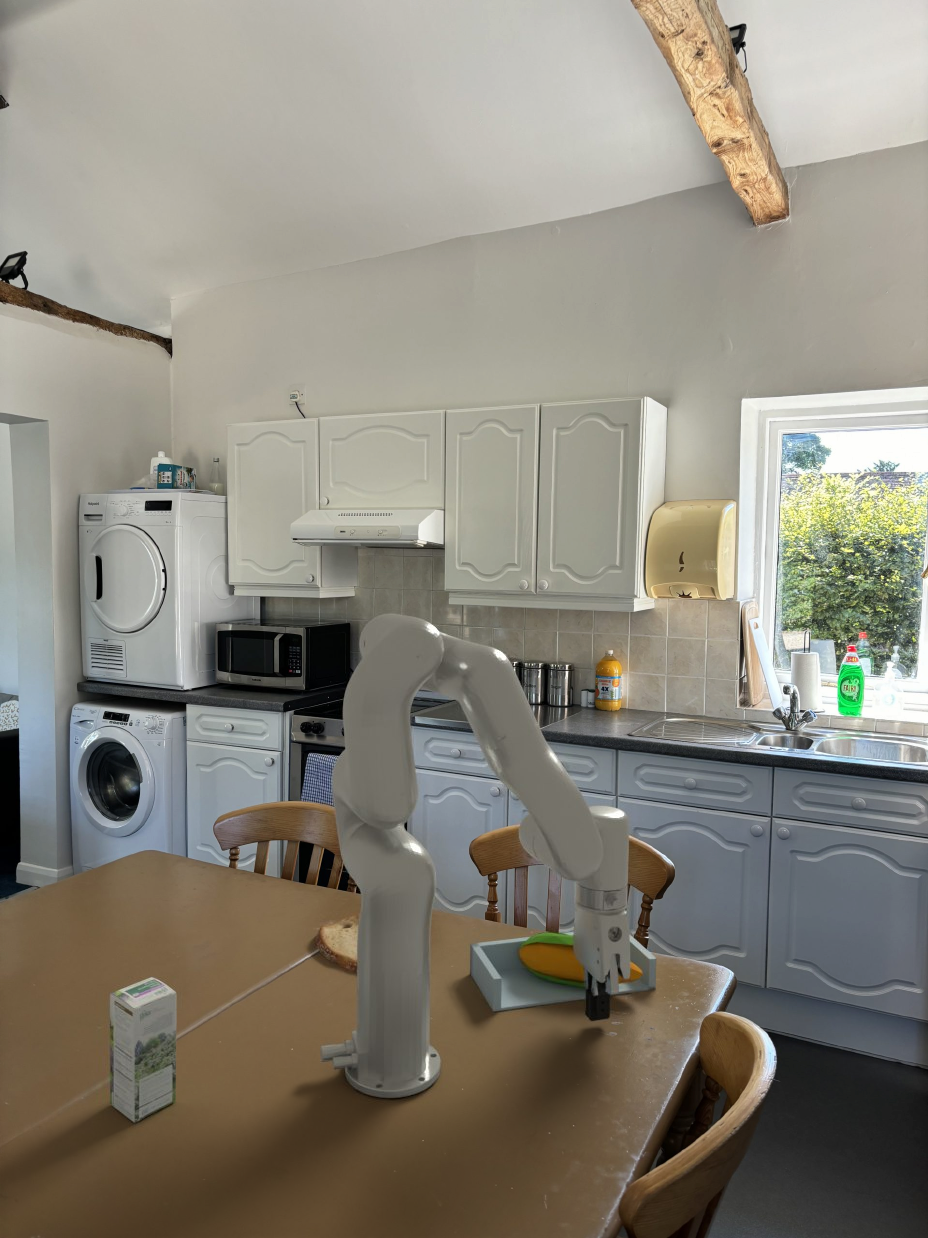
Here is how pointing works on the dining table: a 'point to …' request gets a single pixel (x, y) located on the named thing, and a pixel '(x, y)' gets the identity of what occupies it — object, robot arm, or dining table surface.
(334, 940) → the slice of bread
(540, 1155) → the dining table surface
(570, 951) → the corn
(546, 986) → the tray
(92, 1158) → the dining table surface
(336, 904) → the dining table surface
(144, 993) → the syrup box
